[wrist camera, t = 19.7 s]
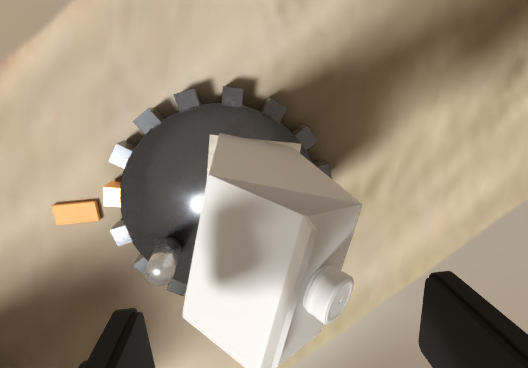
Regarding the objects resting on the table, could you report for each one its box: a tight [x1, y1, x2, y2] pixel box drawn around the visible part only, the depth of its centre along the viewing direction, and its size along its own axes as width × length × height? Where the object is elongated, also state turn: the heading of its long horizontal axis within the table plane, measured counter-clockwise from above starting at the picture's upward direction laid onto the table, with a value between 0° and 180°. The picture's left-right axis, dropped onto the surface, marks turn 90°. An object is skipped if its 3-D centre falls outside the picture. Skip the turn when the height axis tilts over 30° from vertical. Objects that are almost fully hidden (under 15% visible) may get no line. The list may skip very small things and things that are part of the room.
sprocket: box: [103, 86, 332, 296], centre depth 28 cm, size 22×22×6 cm
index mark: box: [51, 200, 101, 225], centre depth 30 cm, size 4×2×1 cm, turn 94°
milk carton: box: [183, 133, 362, 368], centre depth 19 cm, size 7×7×19 cm
